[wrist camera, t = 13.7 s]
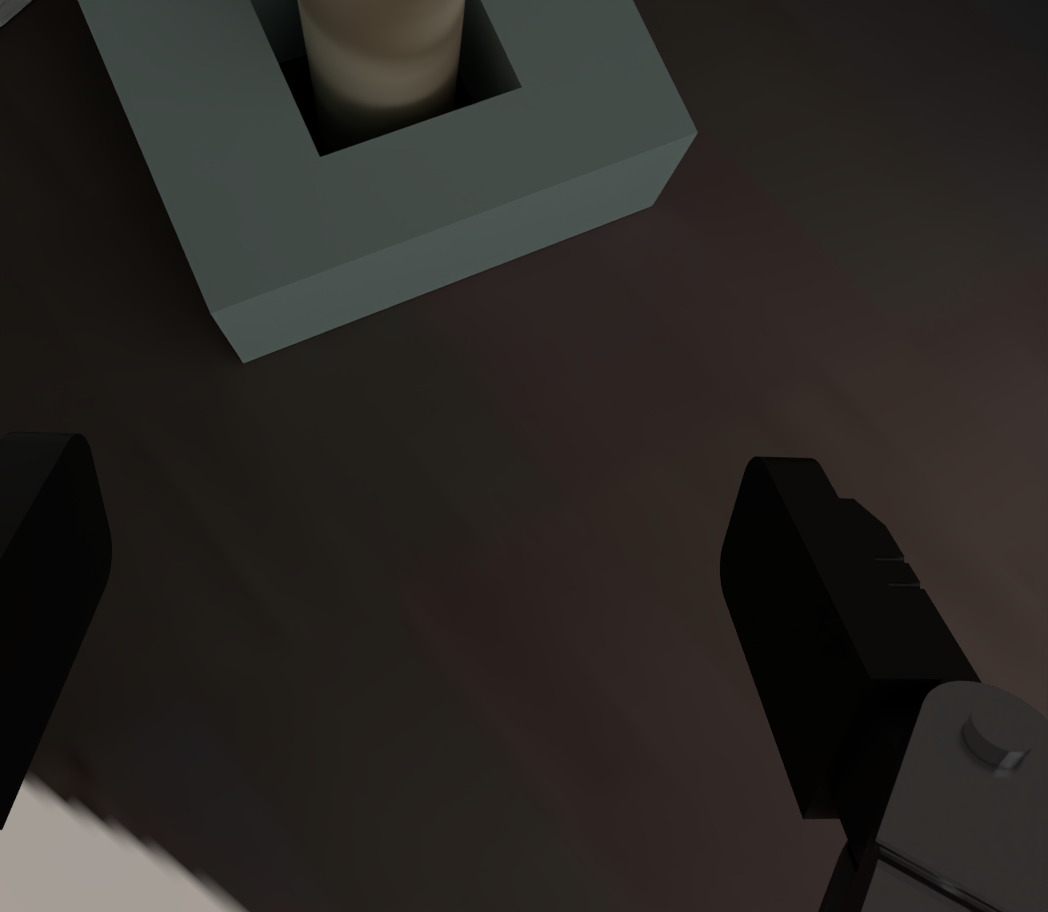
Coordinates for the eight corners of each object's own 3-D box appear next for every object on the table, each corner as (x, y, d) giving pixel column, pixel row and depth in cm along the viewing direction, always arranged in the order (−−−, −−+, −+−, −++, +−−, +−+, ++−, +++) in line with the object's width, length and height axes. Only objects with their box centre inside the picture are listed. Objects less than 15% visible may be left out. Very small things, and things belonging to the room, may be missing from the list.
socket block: (506, -95, 26) (525, -218, 22) (652, 206, 25) (697, 132, 21) (101, 28, 24) (42, -85, 20) (243, 363, 23) (210, 313, 19)
